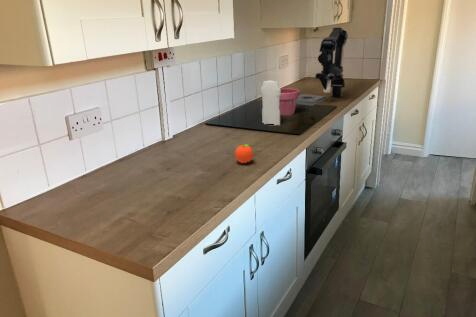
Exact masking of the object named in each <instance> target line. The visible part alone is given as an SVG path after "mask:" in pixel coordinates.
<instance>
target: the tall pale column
mask: <svg viewBox="0 0 476 317" xmlns="http://www.w3.org/2000/svg"><path fill="white" fill-rule="evenodd" d="M281 89H282V88H280V86H279V81H276V80H275V81H274V80H271V79H270V80H264V81H263V83H262V86H261V87H260V95H261V98H262V100H261V101H262V109H261V116H262V117H261V118H262V119H261V120H262V123H264V124H263V125H266V124H274V125H273V126H277V125H278V126H281V115H280V110H279V99H280V98H279V97H280V95H281Z"/></svg>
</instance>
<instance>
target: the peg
mask: <svg viewBox="0 0 476 317" xmlns="http://www.w3.org/2000/svg"><path fill="white" fill-rule="evenodd" d="M331 89H332V87H331V80H328V82H327V88H326V90H325V89H324V88H323V90H322V91H323V93H326V94H327V93H331Z"/></svg>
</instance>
